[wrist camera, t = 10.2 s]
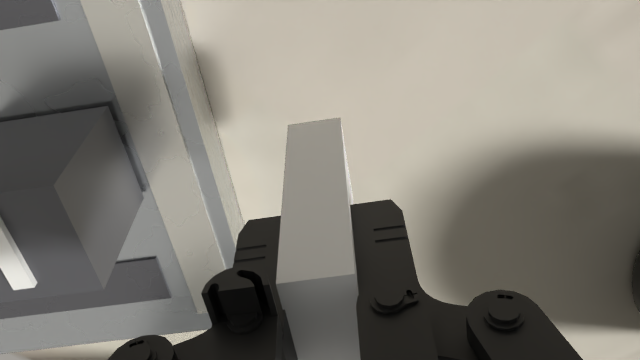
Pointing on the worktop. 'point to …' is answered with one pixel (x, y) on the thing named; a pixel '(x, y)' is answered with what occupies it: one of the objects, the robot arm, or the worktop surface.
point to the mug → (636, 282)
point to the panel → (144, 155)
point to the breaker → (63, 203)
